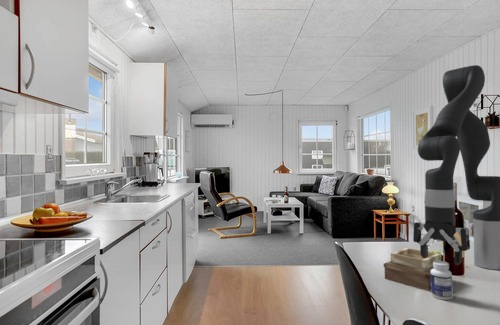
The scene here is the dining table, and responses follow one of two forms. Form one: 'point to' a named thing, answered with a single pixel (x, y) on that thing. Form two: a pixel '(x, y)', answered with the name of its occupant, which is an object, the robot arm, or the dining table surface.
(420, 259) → the top crate
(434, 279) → the pill bottle
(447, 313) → the dining table surface
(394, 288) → the dining table surface
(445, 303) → the dining table surface
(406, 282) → the box
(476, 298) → the dining table surface
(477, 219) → the robot arm
